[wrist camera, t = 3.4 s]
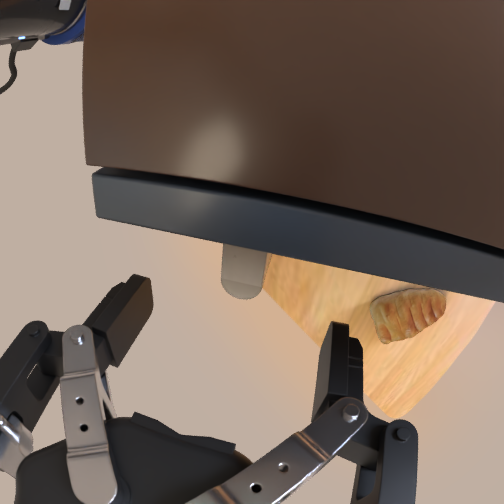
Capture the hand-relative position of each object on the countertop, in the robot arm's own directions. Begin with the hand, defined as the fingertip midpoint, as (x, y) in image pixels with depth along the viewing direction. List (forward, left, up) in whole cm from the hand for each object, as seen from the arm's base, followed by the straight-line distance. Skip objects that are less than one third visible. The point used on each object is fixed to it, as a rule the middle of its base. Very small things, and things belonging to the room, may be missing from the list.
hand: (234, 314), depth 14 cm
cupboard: (+17, +9, -20) cm, 28 cm away
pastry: (+7, -20, -21) cm, 30 cm away
